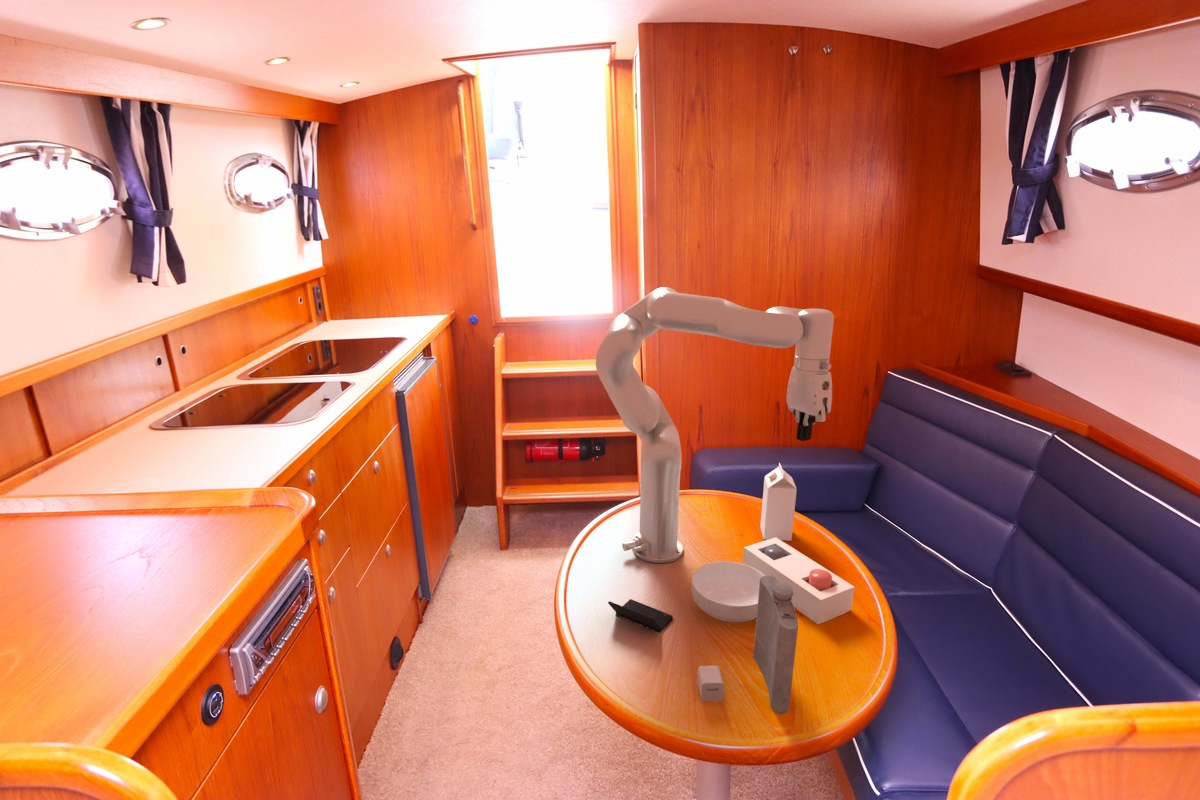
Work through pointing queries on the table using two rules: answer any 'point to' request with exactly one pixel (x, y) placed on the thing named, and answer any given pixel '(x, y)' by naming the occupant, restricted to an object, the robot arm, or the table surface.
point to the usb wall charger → (710, 683)
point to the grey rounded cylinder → (774, 552)
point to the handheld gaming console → (642, 615)
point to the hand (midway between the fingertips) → (803, 439)
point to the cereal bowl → (727, 590)
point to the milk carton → (778, 505)
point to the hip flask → (776, 640)
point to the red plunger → (820, 579)
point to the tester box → (801, 581)
